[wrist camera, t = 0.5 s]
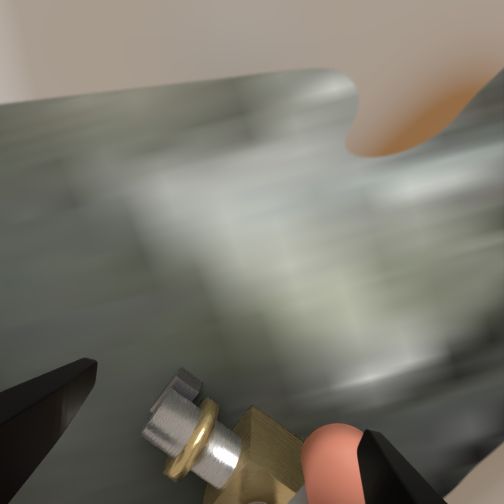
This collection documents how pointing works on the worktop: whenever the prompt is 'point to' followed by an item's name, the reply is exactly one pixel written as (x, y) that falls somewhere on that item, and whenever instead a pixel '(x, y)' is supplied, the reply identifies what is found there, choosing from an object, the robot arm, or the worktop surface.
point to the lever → (330, 467)
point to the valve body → (223, 447)
